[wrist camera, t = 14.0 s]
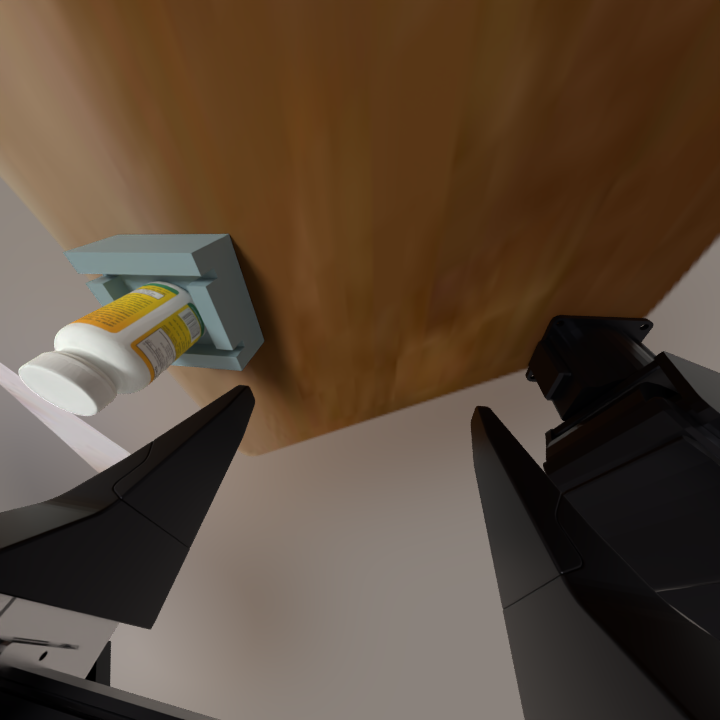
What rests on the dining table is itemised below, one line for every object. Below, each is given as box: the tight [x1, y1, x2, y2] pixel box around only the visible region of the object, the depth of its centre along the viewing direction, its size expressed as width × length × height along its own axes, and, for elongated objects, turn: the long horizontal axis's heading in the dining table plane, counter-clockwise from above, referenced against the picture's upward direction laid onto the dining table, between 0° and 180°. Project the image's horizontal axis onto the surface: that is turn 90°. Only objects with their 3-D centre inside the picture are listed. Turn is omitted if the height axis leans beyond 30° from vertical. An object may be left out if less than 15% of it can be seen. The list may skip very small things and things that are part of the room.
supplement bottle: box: [19, 281, 207, 416], centre depth 18 cm, size 5×5×10 cm
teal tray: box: [63, 234, 264, 371], centre depth 23 cm, size 10×10×4 cm
